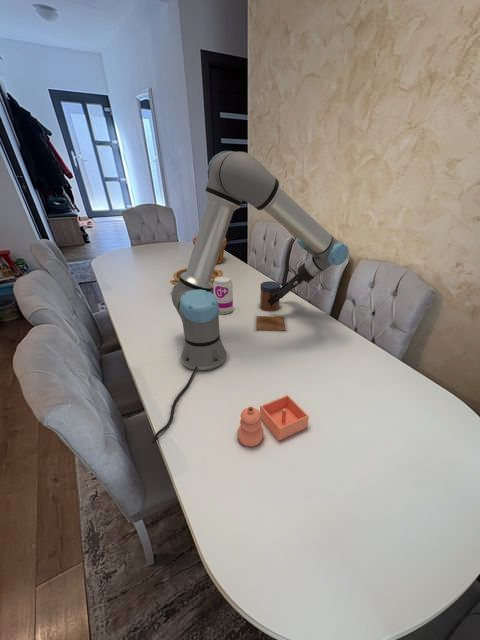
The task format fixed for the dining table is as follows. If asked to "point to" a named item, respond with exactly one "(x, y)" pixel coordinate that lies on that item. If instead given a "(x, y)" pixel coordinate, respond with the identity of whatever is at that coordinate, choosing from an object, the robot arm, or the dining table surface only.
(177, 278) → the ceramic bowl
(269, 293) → the jar
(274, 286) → the jar lid
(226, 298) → the supplement can
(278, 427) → the pottery
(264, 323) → the coaster
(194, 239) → the flower pot
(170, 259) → the dining table surface
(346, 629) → the dining table surface
